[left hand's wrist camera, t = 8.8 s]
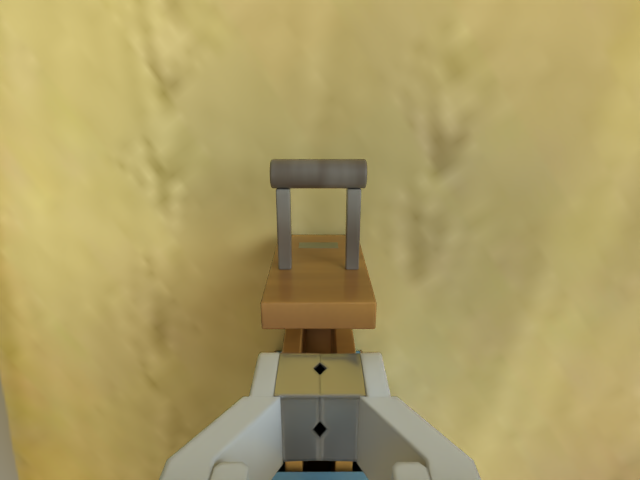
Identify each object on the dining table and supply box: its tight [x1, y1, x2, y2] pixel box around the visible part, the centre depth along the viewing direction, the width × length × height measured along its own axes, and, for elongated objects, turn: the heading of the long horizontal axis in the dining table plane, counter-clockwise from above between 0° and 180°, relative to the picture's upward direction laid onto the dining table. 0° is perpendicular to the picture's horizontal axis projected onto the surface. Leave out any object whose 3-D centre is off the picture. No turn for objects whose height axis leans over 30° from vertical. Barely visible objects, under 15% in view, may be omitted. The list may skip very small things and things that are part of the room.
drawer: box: [261, 159, 377, 472], centre depth 23 cm, size 23×4×8 cm, turn 0°
